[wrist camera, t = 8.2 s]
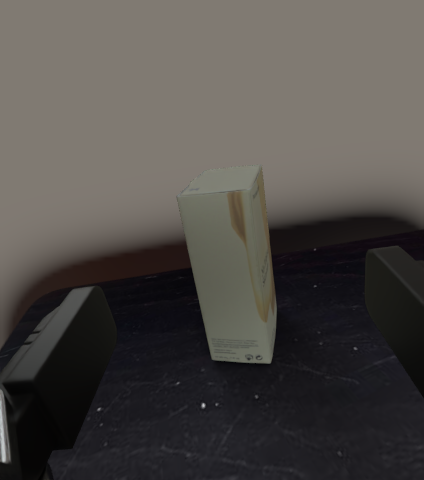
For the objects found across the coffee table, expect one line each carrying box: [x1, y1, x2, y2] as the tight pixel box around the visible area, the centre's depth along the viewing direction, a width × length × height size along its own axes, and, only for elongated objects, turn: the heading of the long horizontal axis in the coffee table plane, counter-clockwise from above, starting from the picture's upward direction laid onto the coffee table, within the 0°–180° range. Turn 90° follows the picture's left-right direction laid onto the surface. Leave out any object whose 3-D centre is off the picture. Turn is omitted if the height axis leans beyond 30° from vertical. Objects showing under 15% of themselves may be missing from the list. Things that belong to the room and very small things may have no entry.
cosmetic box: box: [177, 165, 277, 364], centre depth 22 cm, size 6×4×12 cm
